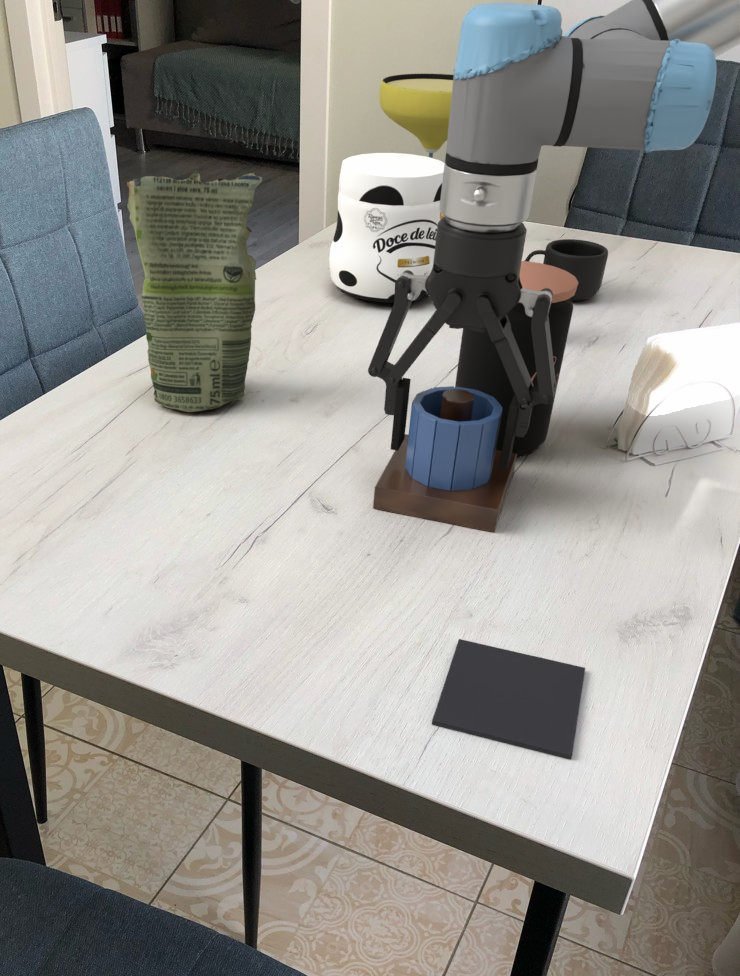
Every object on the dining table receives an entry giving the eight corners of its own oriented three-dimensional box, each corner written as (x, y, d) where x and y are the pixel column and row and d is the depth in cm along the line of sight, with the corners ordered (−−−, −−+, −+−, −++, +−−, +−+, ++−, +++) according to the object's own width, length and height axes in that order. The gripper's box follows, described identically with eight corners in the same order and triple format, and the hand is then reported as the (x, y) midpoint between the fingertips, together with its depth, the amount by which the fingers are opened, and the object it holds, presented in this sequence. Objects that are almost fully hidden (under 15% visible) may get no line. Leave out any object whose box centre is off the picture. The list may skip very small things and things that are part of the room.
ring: (497, 457, 96) (508, 394, 92) (482, 497, 90) (493, 431, 85) (416, 443, 98) (424, 381, 94) (397, 481, 92) (403, 415, 88)
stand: (513, 474, 98) (530, 380, 92) (494, 532, 89) (512, 433, 83) (402, 454, 101) (411, 362, 95) (372, 508, 92) (381, 410, 86)
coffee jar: (527, 470, 99) (561, 302, 88) (434, 445, 103) (454, 281, 92) (557, 431, 107) (591, 271, 96) (468, 409, 111) (491, 253, 100)
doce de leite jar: (411, 320, 133) (424, 186, 122) (306, 296, 140) (310, 167, 129) (460, 287, 145) (476, 161, 134) (361, 266, 152) (369, 145, 141)
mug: (593, 287, 146) (603, 240, 142) (603, 307, 139) (614, 258, 135) (515, 283, 147) (523, 236, 143) (521, 303, 140) (529, 254, 136)
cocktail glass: (486, 239, 165) (508, 79, 150) (457, 268, 152) (479, 96, 137) (389, 225, 171) (401, 70, 156) (353, 252, 158) (363, 85, 143)
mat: (584, 671, 74) (585, 667, 73) (570, 759, 66) (572, 755, 66) (458, 642, 76) (459, 638, 76) (431, 724, 69) (432, 720, 68)
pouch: (132, 397, 111) (113, 172, 96) (202, 367, 119) (195, 153, 104) (200, 426, 106) (191, 191, 91) (269, 393, 113) (271, 170, 98)
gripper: (342, 216, 79) (330, 450, 93) (617, 248, 74) (562, 493, 87) (366, 195, 85) (351, 418, 99) (623, 223, 79) (570, 456, 93)
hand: (450, 453), depth 93 cm, fingers open, 10 cm apart
